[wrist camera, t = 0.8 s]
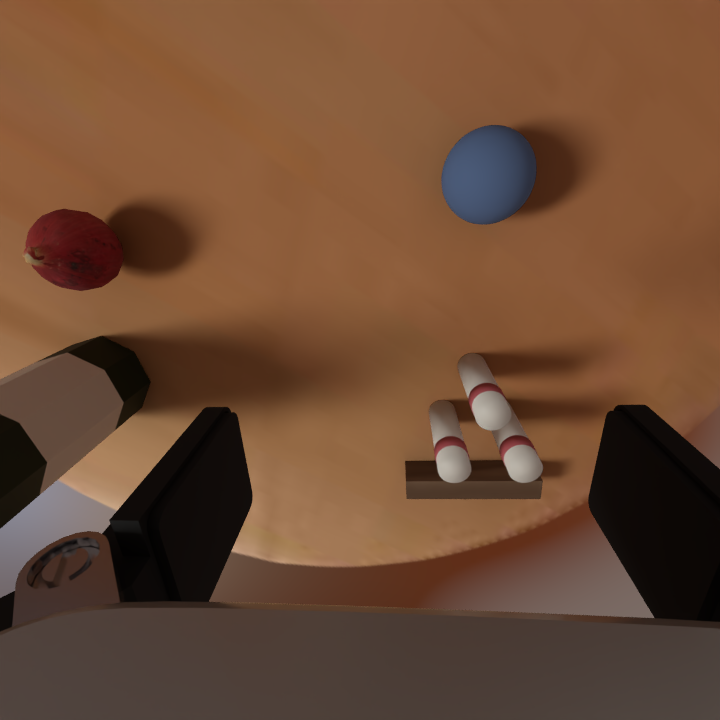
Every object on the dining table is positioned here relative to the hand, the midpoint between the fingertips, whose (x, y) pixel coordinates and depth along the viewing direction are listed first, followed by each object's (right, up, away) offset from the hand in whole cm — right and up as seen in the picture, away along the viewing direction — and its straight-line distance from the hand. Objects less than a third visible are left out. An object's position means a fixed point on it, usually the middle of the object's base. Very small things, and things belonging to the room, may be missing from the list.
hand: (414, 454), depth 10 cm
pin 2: (+11, -2, +27) cm, 29 cm away
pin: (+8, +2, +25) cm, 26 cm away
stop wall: (+9, -8, +29) cm, 32 cm away
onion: (-22, +12, +24) cm, 35 cm away
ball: (+7, +15, +17) cm, 23 cm away
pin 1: (+6, -2, +27) cm, 28 cm away
